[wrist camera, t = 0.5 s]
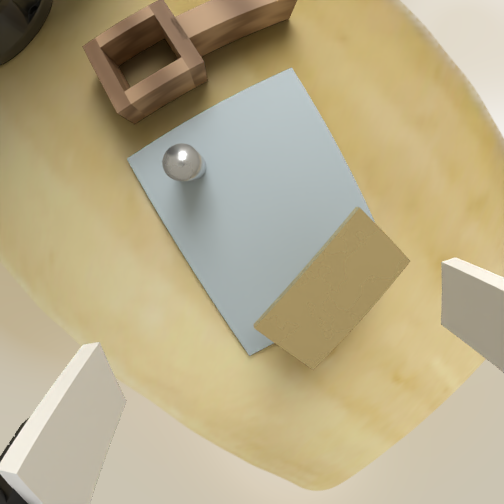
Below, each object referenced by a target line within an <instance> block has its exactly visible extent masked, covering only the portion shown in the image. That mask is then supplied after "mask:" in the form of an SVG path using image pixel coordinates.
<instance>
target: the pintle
mask: <svg viewBox="0 0 504 504" xmlns="http://www.w3.org/2000/svg"><path fill="white" fill-rule="evenodd" d="M162 166H163V169H164V172H165V173H166V175H167V176H168V177H170V178H171V179H173V180H176V181H196V180H198V179H200V178H201V177H202V176H203V175H204V174H205V171H206V161H205V159H204V158H203V157H202V156H201V155H200V154H199V153H198V152H197V151H196V150H195V149H194V148H193V147H192V146H190V145H188V144H184V143H180V144H175V145H173V146H171V147H170V148H169V149H168V150H167V151H166V152H165V154H164V156H163V160H162Z"/></svg>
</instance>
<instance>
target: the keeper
mask: <svg viewBox="0 0 504 504" xmlns="http://www.w3.org/2000/svg"><path fill="white" fill-rule="evenodd" d="M409 262H410V260H409V259H408V258H407V257H406V256H405V255H404V253H403V252H402V251H401V250H400V249H399V248H398V247H397V246H396V245H395V244H394V243H393V241H392V240H391V239H390V238H389V237H388V236H387V235H386V234H385V233H384V232H383V231H382V230H381V229H380V228H379V227H378V226H377V225H376V224H375V222H374V221H373V220H372V219H371V218H370V217H369V216H368V215H367V214H366V213H365V212H364V211H363V210H362V209H361V208H360V207H355V208H354V210H353V211H352V212H351V213H350V214H349V216H348V217H347V218H346V219H345V220H344V222H343V223H342V224H341V225H340V226H339V228H338V229H337V230H336V231H335V232H334V234H333V235H332V236H331V237H330V238H329V239H328V241H327V242H326V243H325V244H324V245H323V246H322V248H321V249H320V250H319V251H318V252H317V253H316V255H315V256H314V257H313V258H312V259H311V260H310V262H309V263H308V264H307V265H306V266H305V267H304V268H303V270H302V271H301V272H300V273H299V274H298V275H297V276H296V278H295V279H294V280H293V281H292V282H291V283H290V284H289V285H288V287H287V288H286V289H285V290H284V291H283V292H282V293H281V294H280V296H279V297H278V298H277V299H276V300H275V301H274V302H273V303H272V304H271V306H270V307H269V308H268V309H267V310H266V311H265V312H264V313H263V314H262V315H261V317H260V318H259V319H258V320H257V321H256V322H255V323H254V324H253V325H254V329H256V330H257V331H259V332H260V333H261V334H263V335H264V336H265V337H267V338H268V339H270V340H271V341H272V342H274V343H275V344H277V345H278V346H279V347H281V348H282V349H284V350H285V351H287V352H288V353H289V354H291V355H292V356H294V357H295V358H297V359H298V360H299V361H301V362H302V363H304V364H305V365H307V366H308V367H310V368H311V369H312V370H314V369H315V368H316V367H317V366H318V365H319V364H320V363H321V362H322V361H323V360H324V358H325V357H326V356H327V355H328V354H329V353H330V352H331V351H332V350H333V349H334V348H335V347H336V346H337V345H338V344H339V343H340V342H341V341H342V340H343V339H344V338H345V337H346V336H347V335H348V333H349V332H350V331H351V330H352V329H353V328H354V327H355V326H356V325H357V324H358V323H359V321H360V320H361V319H362V318H363V317H364V316H365V315H366V314H367V312H368V311H369V310H370V309H371V308H372V307H373V306H374V305H375V303H376V302H377V301H378V300H379V299H380V298H381V296H382V295H383V294H384V293H385V292H386V290H387V289H388V288H389V287H390V286H391V284H392V283H393V282H394V281H395V280H396V278H397V277H398V276H399V275H400V274H401V272H402V271H403V270H404V269H405V267H406V266H407V265H408V264H409Z"/></svg>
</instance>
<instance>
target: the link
mask: <svg viewBox="0 0 504 504" xmlns="http://www.w3.org/2000/svg"><path fill="white" fill-rule="evenodd" d="M296 2H297V0H210V1H208V2H206V3H204V4H201V5H199V6H197V7H195V8H193V9H191V10H188V11H186V12H184V13H182V14H180V15H178V16H176V17H175V16H174V15H173V14H172V12H171V11H170V9H169V8H168V6H167V5H166V3H165V2H164V0H158V1H156V2H154V3H152V4H150V5H148V6H146V7H145V8H143V9H141V10H139V11H137V12H136V13H134V14H132V15H130V16H129V17H127V18H125V19H124V20H122V21H120V22H119V23H117V24H115V25H114V26H112V27H111V28H109V29H107V30H106V31H104V32H103V33H101V34H100V35H98V36H97V37H95V38H94V39H92V40H91V41H89V42H88V43H87V44H85V45H84V46H82V47H83V49H84V51H85V53H86V55H87V57H88V59H89V61H90V63H91V64H92V66H93V68H94V70H95V72H96V74H97V76H98V78H99V80H100V82H101V84H102V86H103V88H104V90H105V91H106V93H107V95H108V97H109V99H110V101H111V103H112V105H113V106H114V108H115V110H116V112H117V114H119V115H121V116H122V117H124V118H126V119H127V120H129V121H131V122H132V123H134V124H136V123H137V122H139V121H140V120H142V119H144V118H145V117H147V116H148V115H150V114H151V113H153V112H155V111H156V110H158V109H159V108H161V107H163V106H164V105H166V104H168V103H169V102H171V101H173V100H174V99H176V98H178V97H180V96H181V95H183V94H185V93H187V92H188V91H190V90H192V89H194V88H196V87H197V86H199V85H201V84H203V83H205V82H207V81H208V79H207V74H206V68H205V63H204V60H203V59H202V56H204V55H206V54H208V53H210V52H212V51H214V50H216V49H218V48H220V47H222V46H224V45H226V44H229V43H231V42H233V41H235V40H237V39H240V38H242V37H244V36H246V35H249V34H251V33H253V32H256V31H258V30H261V29H263V28H266V27H268V26H271V25H273V24H276V23H278V22H281V21H284V20H287V19H289V18H290V16H291V13H292V11H293V9H294V6H295V4H296ZM164 38H165V39H166V41H167V43H168V44H169V46H170V47H171V49H172V51H173V52H174V54H175V55H176V57H177V58H178V60H176V61H174V62H172V63H171V64H169V65H167V66H165V67H163V68H162V69H160V70H158V71H157V72H155V73H153V74H152V75H150V76H148V77H147V78H145V79H143V80H142V81H140V82H139V83H137V84H135V85H134V86H132V87H131V88H130V86H129V84H128V82H127V81H126V79H125V77H124V75H123V73H122V72H121V70H120V68H119V65H121V64H122V63H124V62H125V61H127V60H129V59H130V58H132V57H133V56H135V55H137V54H138V53H140V52H142V51H143V50H145V49H147V48H149V47H150V46H152V45H154V44H155V43H157V42H159V41H161V40H163V39H164Z"/></svg>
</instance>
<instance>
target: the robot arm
mask: <svg viewBox="0 0 504 504" xmlns="http://www.w3.org/2000/svg"><path fill="white" fill-rule="evenodd" d="M51 5H52V0H0V65H2V64H4V63H6V62H7V61H9V60H10V59H12V58H13V57H14V56H16V55H17V54H18V53H19V52H20V51H22V50H23V49H24V48H25V47H26V46H27V44H28V43H29V42H30V41H31V40H32V39H33V38H34V36H35V35H36V34H37V32H38V31H39V29H40V28H41V26H42V25H43V23H44V21H45V19H46V18H47V15H48V13H49V11H50V8H51ZM441 264H442V313H441V325H443V326H444V327H445V328H447V329H448V330H449V331H451V332H452V333H453V334H455V335H456V336H457V337H459V338H460V339H461V340H462V341H464V342H465V343H466V344H468V345H469V346H470V347H472V348H473V349H474V350H475V351H477V352H478V353H479V354H481V355H482V356H483V357H484V358H486V359H487V360H488V361H490V362H491V363H492V364H493V365H495V366H496V367H497V368H499V369H500V370H501V371H502V372H503V373H504V278H503V277H501V276H499V275H496V274H494V273H492V272H489V271H487V270H485V269H482V268H480V267H478V266H475V265H473V264H471V263H468V262H466V261H463V260H461V259H458V258H456V257H455V258H452V259H449V260H446V261H443V262H441ZM125 404H126V399H125V397H124V395H123V393H122V390H121V389H120V386H119V384H118V382H117V380H116V378H115V376H114V374H113V371H112V369H111V367H110V365H109V363H108V360H107V358H106V356H105V354H104V351H103V349H102V346H101V344H100V342H97V343H90V344H84V345H82V346H81V348H80V349H79V350H78V352H77V353H76V354H75V356H74V357H73V358H72V360H71V361H70V362H69V364H68V365H67V366H66V368H65V369H64V370H63V372H62V373H61V374H60V376H59V377H58V378H57V380H56V381H55V383H54V384H53V385H52V387H51V388H50V389H49V391H48V392H47V393H46V395H45V396H44V398H43V399H42V401H41V402H40V404H39V405H38V406H37V408H36V409H35V411H34V412H33V413H32V415H31V416H30V417H29V418H28V419H27V420H26V421H25V422H24V423H22V425H21V426H20V427H19V429H18V431H17V432H16V433H15V437H13V438H12V440H11V441H10V442H9V443H10V445H7V447H6V449H5V450H4V451H3V453H2V455H1V456H0V504H90V502H91V498H92V495H93V493H94V490H95V486H96V484H97V481H98V478H99V475H100V472H101V469H102V466H103V463H104V460H105V457H106V455H107V452H108V449H109V447H110V444H111V441H112V438H113V436H114V433H115V430H116V427H117V425H118V422H119V419H120V417H121V414H122V412H123V409H124V406H125Z"/></svg>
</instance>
